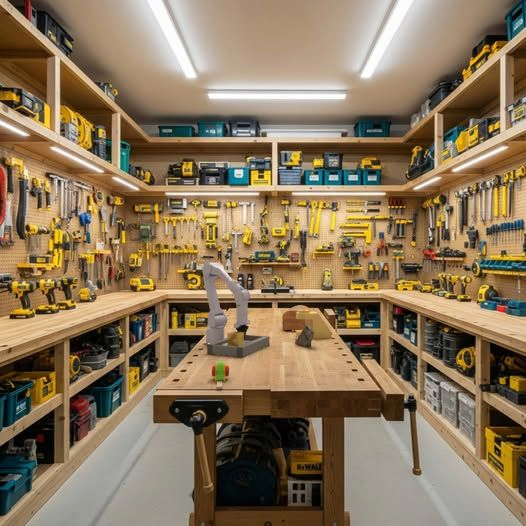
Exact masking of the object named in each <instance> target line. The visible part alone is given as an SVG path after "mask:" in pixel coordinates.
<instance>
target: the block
mask: <svg viewBox="0 0 526 526" xmlns="http://www.w3.org/2000/svg"><path fill="white" fill-rule="evenodd" d="M226 334H227V337H226V338H227V346H241V345H243V344H244V332H237V331H234V330H232V331H231V332H227V333H226Z"/></svg>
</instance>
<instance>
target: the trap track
mask: <svg viewBox="0 0 526 526" xmlns="http://www.w3.org/2000/svg"><path fill="white" fill-rule="evenodd" d="M268 345H269V346H270V336H268V335H257V334H256V335H253V334H246V336H245V340H244V344H243V345H241V346H227V337H224V339H222V340H219V341H216V342H213V343H210V344H206V350H207V351H206V354H207V353H212V354H211V355H213V354H219V355H218V356H223V355H228V356H227V357H232V356H236V357H235V358H241V357H243V358H245V357H247V356H249V355H251V354H253V353H255V351H256V352H257V350H258V351H260V350H262V349H264V348H266V347H269V346H268ZM265 346H266V347H265ZM263 347H264V348H263ZM261 348H262V349H261ZM259 349H260V350H259ZM250 353H251V354H250ZM248 354H249V355H248ZM246 355H247V356H246ZM244 356H245V357H244Z"/></svg>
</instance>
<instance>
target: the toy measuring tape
mask: <svg viewBox="0 0 526 526" xmlns="http://www.w3.org/2000/svg"><path fill="white" fill-rule="evenodd" d="M226 363H227V362H225V361H216V362H215V364H213V365H211V377H214V383H216V386H215V390H217V391H220V390H222V391H223V383H226V380H227V379H226V378H227V377H229V376H230V366H229V365H227V364H226Z"/></svg>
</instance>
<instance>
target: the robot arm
mask: <svg viewBox="0 0 526 526" xmlns="http://www.w3.org/2000/svg"><path fill="white" fill-rule="evenodd" d="M201 270H202V271H201V272H202V275H203V284H204V288H205V294H206V298H207V301H208V306H209V312H208V313H207V325H208V326H209V327H207V328H206V331H205V343H204V344H205V345H207V344H206V343H213V342H216V341H219V340H222V339H225V327H226V325H227V323H228V317H227V315H226V313H225V311H224V310H223V309H222V308H221V306H220V305H221V304H220V301H219V295H218V293H217V288H216V284H215V280H216V279H217V278H218V277H219V278H220V279H222V280H223V282H224V283H225V284H226V287H227V289H228V290H229V291H230V292H231V293H232V294H233V298H234V300H235V305H236V322H235V323H233V328H234V329H235V330H236V332H244V340H245V336H246V335H247V332H248V330H249V325H251V320H250V319H248V318H249V317H248V316H249V314H248V312H249V310H248V308H249V305H248V303H249V301H248V300H250V298H251V293H250V291H249V290H248V289H245V288H244V287H243V286H242V285H241V284H240V283H239V281H238V279H237V280H236V279H233V278H231V276H230V275H229V273H227V270H225V266H224V265H223V264H222V263H221V262H205V263H203V266H202V267H201Z"/></svg>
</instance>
